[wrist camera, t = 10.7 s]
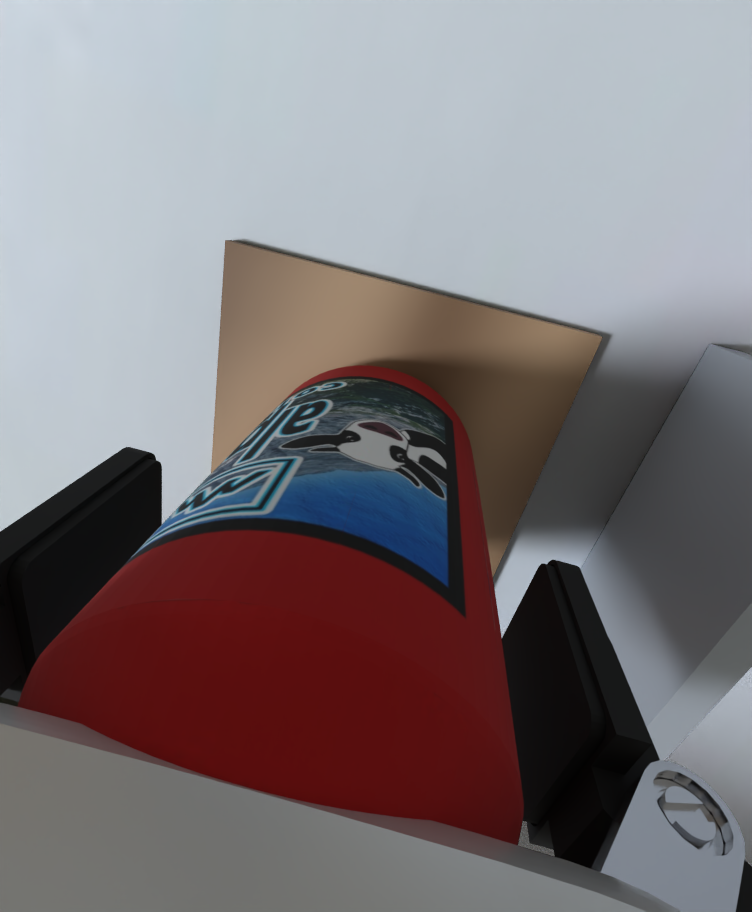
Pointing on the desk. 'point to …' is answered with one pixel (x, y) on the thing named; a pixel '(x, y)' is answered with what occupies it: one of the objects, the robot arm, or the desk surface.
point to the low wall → (684, 555)
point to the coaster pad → (399, 363)
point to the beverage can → (314, 618)
